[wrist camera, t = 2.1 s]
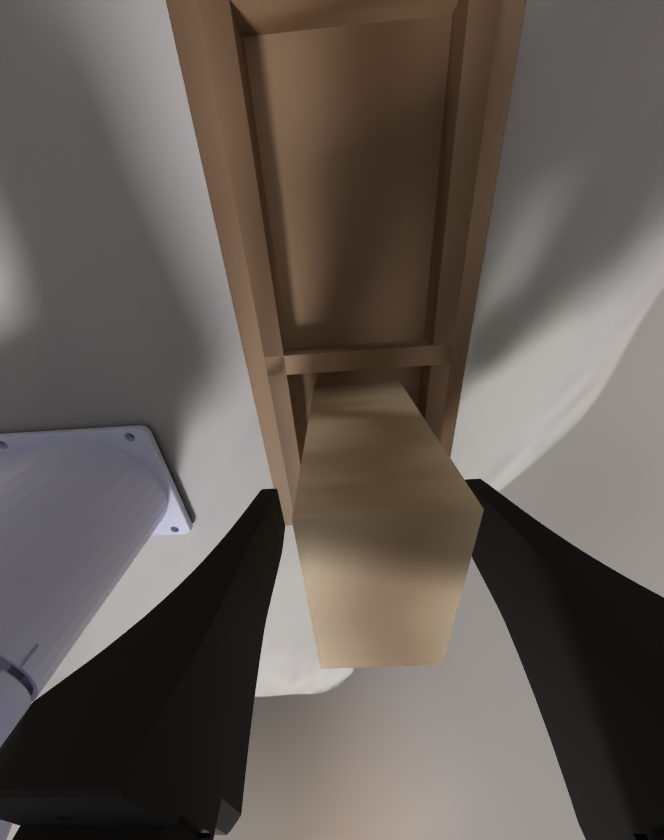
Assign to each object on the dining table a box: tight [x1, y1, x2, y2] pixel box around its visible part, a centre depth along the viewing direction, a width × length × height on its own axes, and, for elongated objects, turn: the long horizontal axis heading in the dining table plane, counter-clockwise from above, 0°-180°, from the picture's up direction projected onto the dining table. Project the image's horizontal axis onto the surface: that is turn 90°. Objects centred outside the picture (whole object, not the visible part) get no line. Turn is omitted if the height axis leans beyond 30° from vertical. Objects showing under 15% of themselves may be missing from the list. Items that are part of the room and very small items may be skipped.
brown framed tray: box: [166, 0, 526, 525], centre depth 9 cm, size 10×31×2 cm, turn 4°
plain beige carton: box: [292, 380, 484, 668], centre depth 11 cm, size 4×7×8 cm, turn 4°
